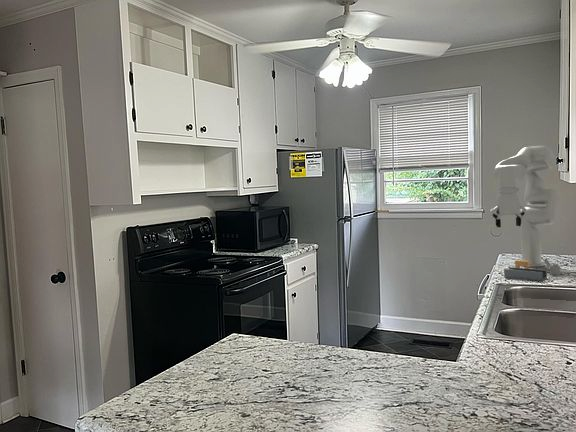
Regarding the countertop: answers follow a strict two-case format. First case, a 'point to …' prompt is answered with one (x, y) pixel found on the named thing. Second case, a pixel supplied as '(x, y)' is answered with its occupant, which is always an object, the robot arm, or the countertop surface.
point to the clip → (521, 263)
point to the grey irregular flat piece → (553, 268)
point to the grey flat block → (525, 273)
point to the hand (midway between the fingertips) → (508, 226)
